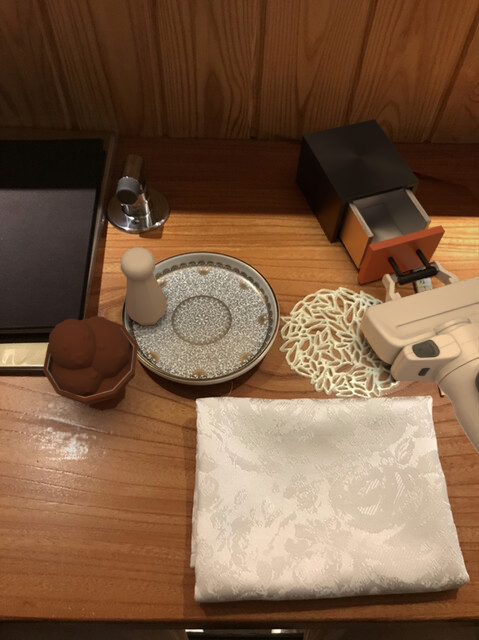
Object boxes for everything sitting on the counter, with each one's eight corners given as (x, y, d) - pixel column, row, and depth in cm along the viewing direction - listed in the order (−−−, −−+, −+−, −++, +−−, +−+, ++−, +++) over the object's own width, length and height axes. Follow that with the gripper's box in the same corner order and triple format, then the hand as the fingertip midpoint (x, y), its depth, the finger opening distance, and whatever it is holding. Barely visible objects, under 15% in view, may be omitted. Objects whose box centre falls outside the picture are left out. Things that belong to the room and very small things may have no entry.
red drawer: (443, 289, 83) (463, 256, 76) (374, 309, 81) (388, 277, 74) (387, 202, 92) (400, 166, 85) (323, 218, 90) (331, 182, 83)
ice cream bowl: (89, 447, 70) (60, 398, 57) (48, 381, 74) (13, 321, 62) (162, 401, 73) (150, 345, 60) (119, 341, 78) (99, 276, 65)
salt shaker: (176, 308, 81) (169, 251, 70) (153, 337, 78) (142, 283, 67) (143, 291, 82) (131, 232, 71) (119, 319, 80) (103, 262, 69)
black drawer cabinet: (401, 225, 91) (419, 181, 83) (330, 243, 88) (342, 200, 80) (362, 164, 98) (375, 118, 90) (295, 180, 95) (302, 134, 87)
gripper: (537, 318, 73) (481, 238, 79) (397, 362, 69) (349, 273, 75) (515, 342, 78) (464, 265, 85) (383, 383, 74) (340, 299, 81)
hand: (409, 269), depth 80 cm, fingers closed on red drawer, 5 cm apart
